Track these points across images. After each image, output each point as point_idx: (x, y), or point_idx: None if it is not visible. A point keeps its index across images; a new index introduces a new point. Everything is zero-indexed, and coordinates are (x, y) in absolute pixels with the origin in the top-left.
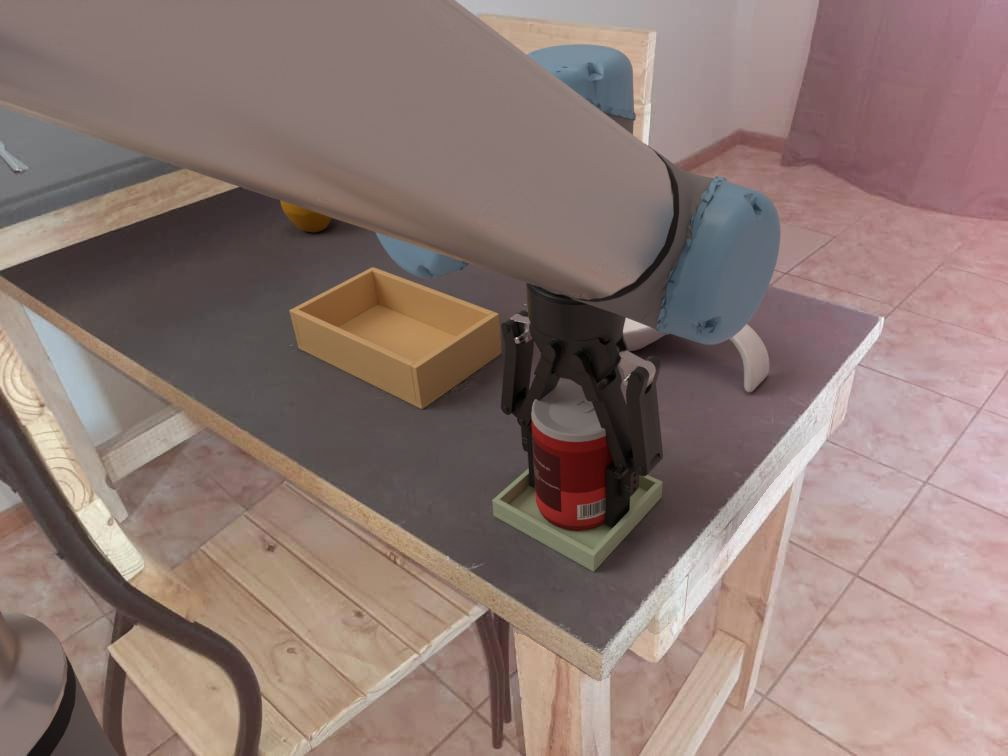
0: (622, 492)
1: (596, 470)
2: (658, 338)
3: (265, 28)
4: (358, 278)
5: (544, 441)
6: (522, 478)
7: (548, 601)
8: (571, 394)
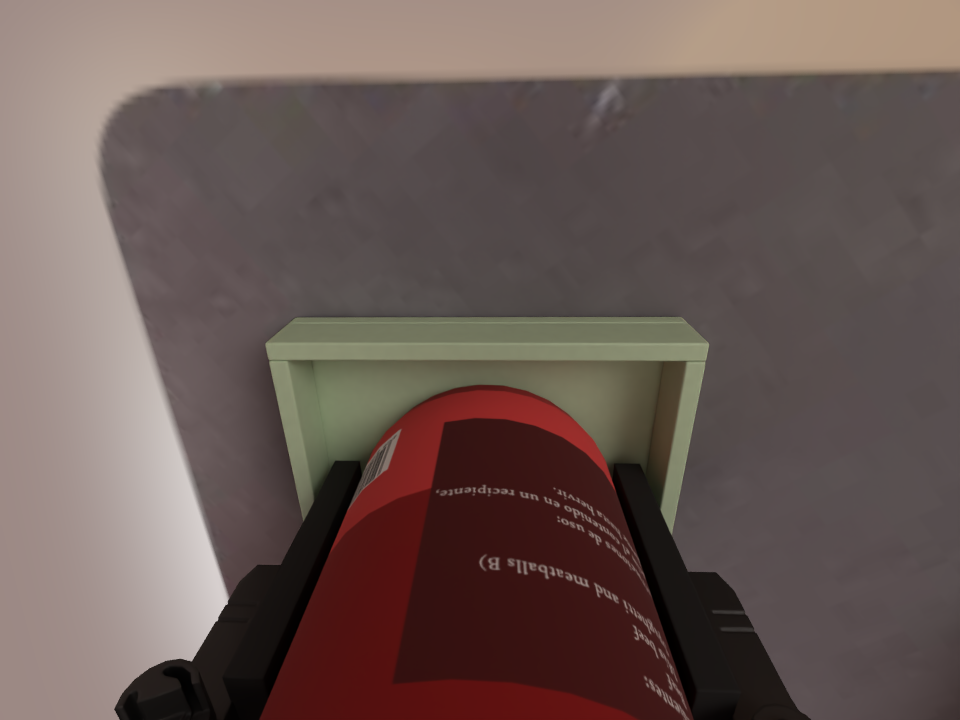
0: (269, 585)
1: (288, 653)
2: None
3: None
4: None
5: None
6: (668, 472)
7: (312, 139)
8: None
